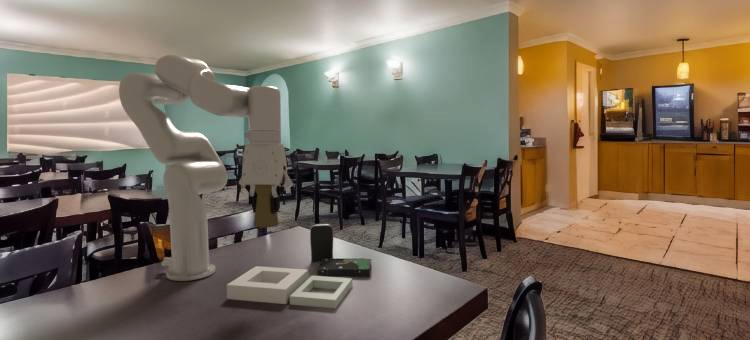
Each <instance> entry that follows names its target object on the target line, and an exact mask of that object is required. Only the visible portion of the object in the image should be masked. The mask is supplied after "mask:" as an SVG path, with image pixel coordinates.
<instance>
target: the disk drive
mask: <svg viewBox="0 0 750 340" xmlns="http://www.w3.org/2000/svg"><path fill="white" fill-rule="evenodd" d="M371 273H372V259H371V258H364V257H363V258H360V257H359V258H356V257H354V258H350V257H349V258H338V257H337V258H333V259H331V258H327V259H322V260H321V262H319V264H318V267H317V268H316V276H325V277H340V278H370V277H371Z"/></svg>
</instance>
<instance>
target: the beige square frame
mask: <svg viewBox="0 0 750 340" xmlns="http://www.w3.org/2000/svg"><path fill="white" fill-rule="evenodd" d="M308 279H309V269H305V268H304V269H302V268H301V269H300V268H289V267H288V268H287V267H286V268H285V267H276V266H275V267H272V266H257V265H256V266H254V267H252V268H250V269H249V270H248V271H246V272H245V273H243V274H241V275H239V276H238V277H236V278H235V279H233V280H232V281H231V282H229V283H227V284H226V295H227V296H226V298H227V300H235V301H247V302H258V303H268V304H280V305H281V304H282V305H287V304H288V303H289V304H290V295H292V294H293V293H294V292H295V291H296V290H297V289H298V288H299V287H300V286H301V285H302V284H303V283H304V282H305V281H307V280H308Z"/></svg>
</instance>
